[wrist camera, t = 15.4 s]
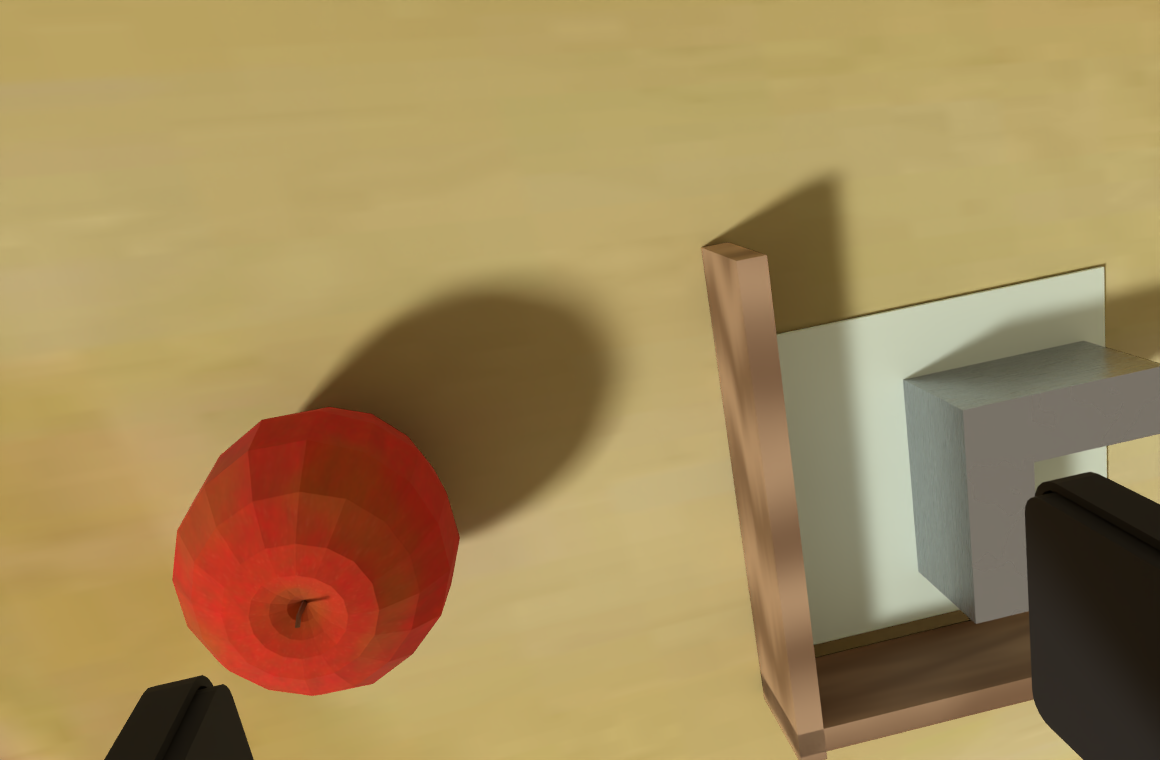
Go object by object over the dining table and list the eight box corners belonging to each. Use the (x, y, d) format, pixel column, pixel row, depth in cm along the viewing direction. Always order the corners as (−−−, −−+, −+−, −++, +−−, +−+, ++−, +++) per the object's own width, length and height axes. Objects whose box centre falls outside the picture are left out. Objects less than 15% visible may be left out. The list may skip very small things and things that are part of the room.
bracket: (902, 379, 40) (962, 410, 35) (1083, 340, 41) (1166, 365, 36) (918, 571, 43) (975, 624, 38) (1087, 531, 44) (1164, 578, 39)
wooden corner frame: (701, 247, 38) (736, 261, 33) (1128, 162, 39) (1221, 163, 34) (764, 698, 44) (801, 765, 39) (1130, 608, 45) (1210, 662, 41)
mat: (770, 335, 39) (772, 336, 39) (1101, 266, 40) (1103, 266, 40) (808, 643, 43) (809, 645, 43) (1105, 572, 45) (1108, 574, 44)
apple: (239, 360, 36) (142, 451, 25) (478, 403, 38) (486, 504, 27) (209, 580, 38) (107, 752, 27) (436, 609, 40) (427, 782, 29)
